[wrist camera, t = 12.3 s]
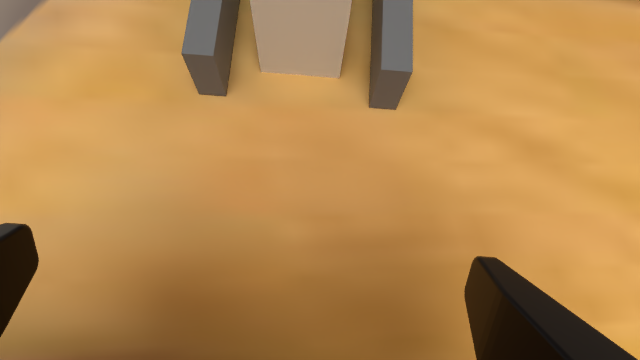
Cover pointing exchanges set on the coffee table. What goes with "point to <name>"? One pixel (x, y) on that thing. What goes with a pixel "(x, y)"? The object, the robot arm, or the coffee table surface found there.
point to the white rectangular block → (301, 35)
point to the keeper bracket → (219, 31)
